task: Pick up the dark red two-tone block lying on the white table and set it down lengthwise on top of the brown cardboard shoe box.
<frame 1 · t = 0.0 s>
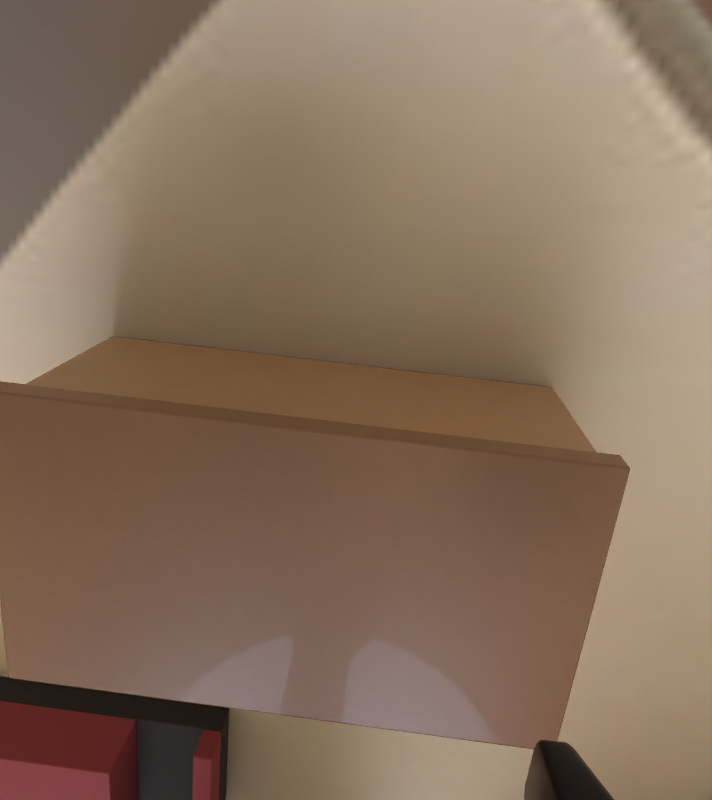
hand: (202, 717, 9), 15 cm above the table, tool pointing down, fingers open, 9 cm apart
dark red two-tone block: (95, 736, 29), on the table
shoebox: (319, 470, 24), on the table
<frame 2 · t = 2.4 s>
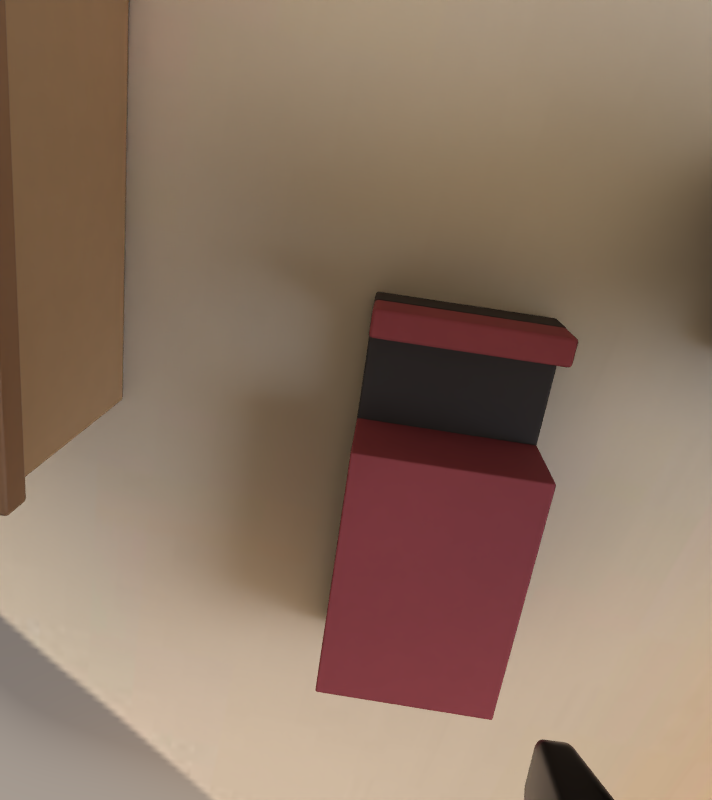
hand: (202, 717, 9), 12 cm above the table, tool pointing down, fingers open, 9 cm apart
dark red two-tone block: (430, 484, 21), on the table
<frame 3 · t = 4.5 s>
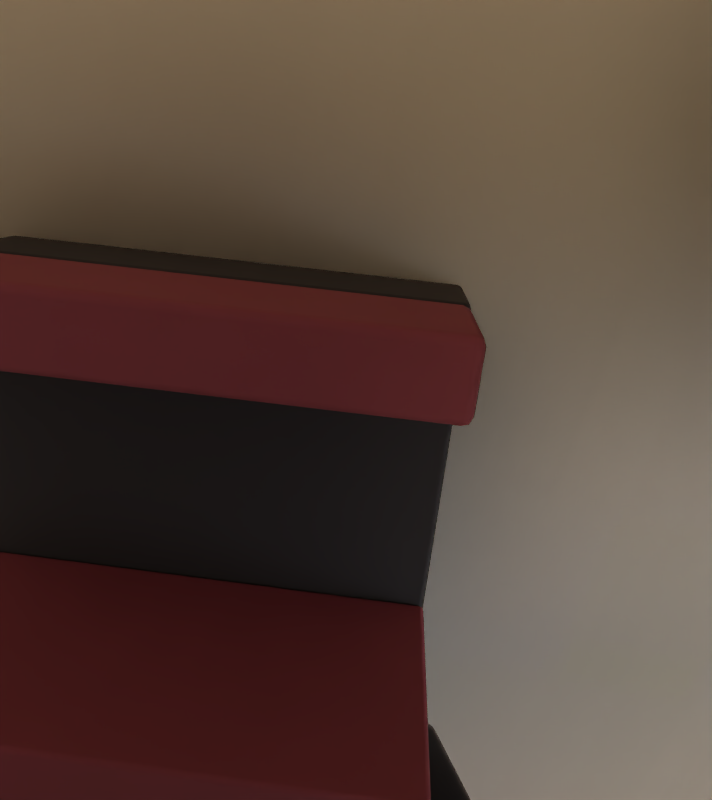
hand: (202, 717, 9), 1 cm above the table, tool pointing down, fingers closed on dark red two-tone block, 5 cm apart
dark red two-tone block: (220, 663, 10), on the table, touching gripper
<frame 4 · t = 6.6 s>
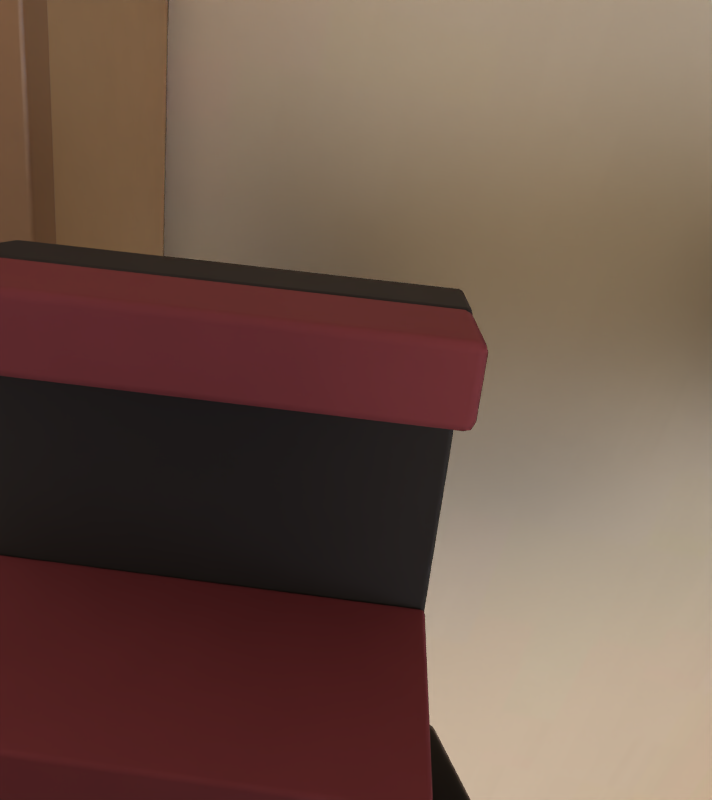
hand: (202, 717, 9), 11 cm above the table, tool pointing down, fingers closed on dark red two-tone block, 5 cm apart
dark red two-tone block: (222, 666, 10), point 10 cm above the table, touching gripper
shoebox: (14, 176, 17), on the table
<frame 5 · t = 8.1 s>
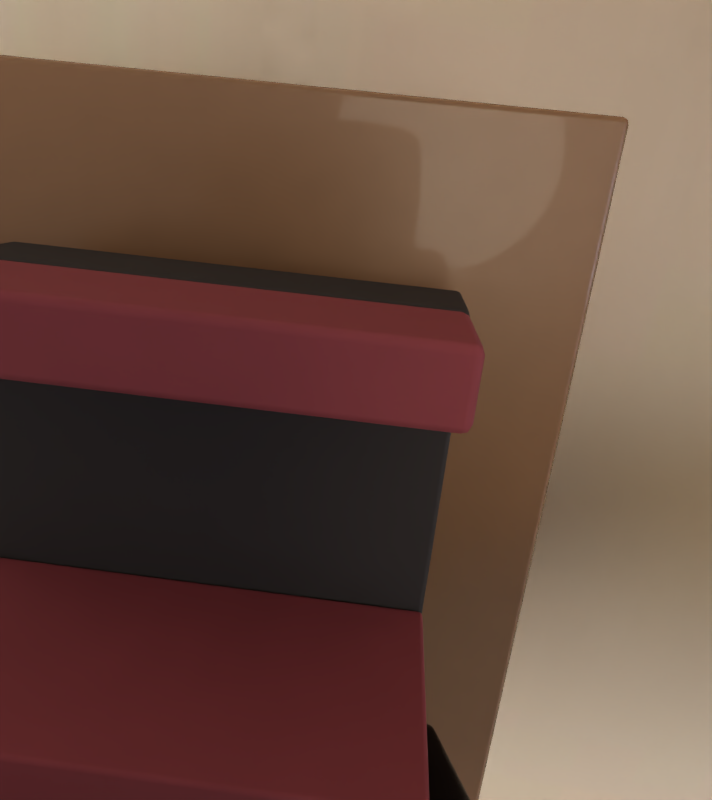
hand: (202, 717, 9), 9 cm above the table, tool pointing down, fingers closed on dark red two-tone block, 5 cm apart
dark red two-tone block: (220, 668, 10), point 8 cm above the table, touching gripper
shoebox: (299, 450, 17), on the table
when the fingers open (8 cm above the table, at t = 8.8 s): dark red two-tone block stays where it is, resting on shoebox.
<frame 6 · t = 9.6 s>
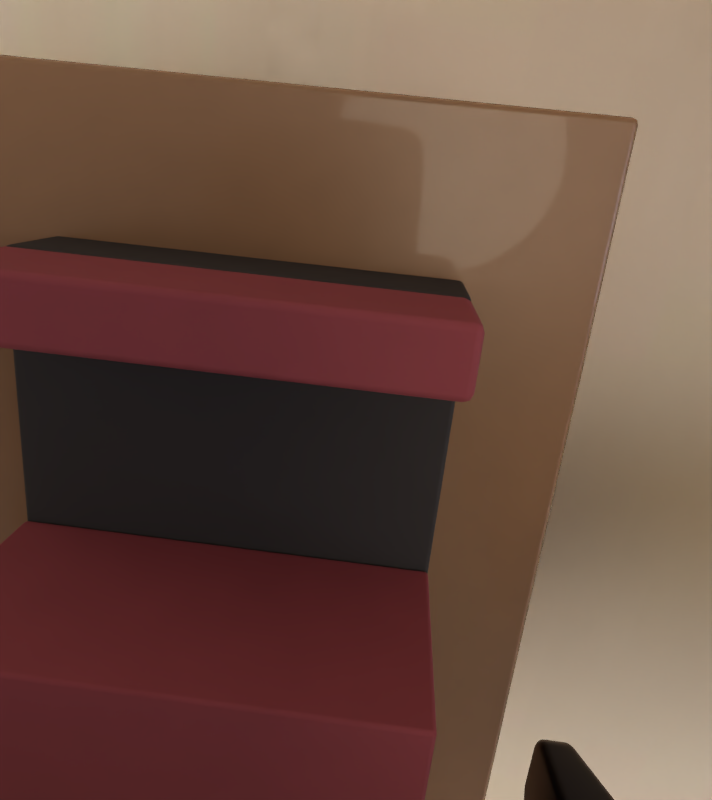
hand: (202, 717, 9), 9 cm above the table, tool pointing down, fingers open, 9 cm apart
dark red two-tone block: (240, 631, 10), point 7 cm above the table, touching shoebox
shoebox: (303, 451, 17), on the table
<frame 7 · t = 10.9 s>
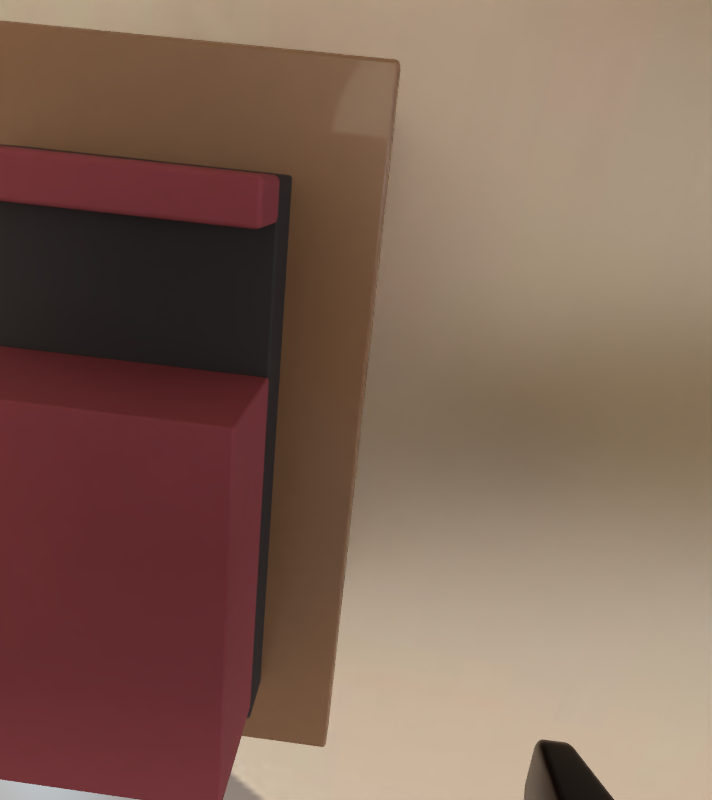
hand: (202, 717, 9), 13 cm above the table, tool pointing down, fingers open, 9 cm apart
dark red two-tone block: (153, 449, 14), point 7 cm above the table, touching shoebox
shoebox: (232, 359, 21), on the table
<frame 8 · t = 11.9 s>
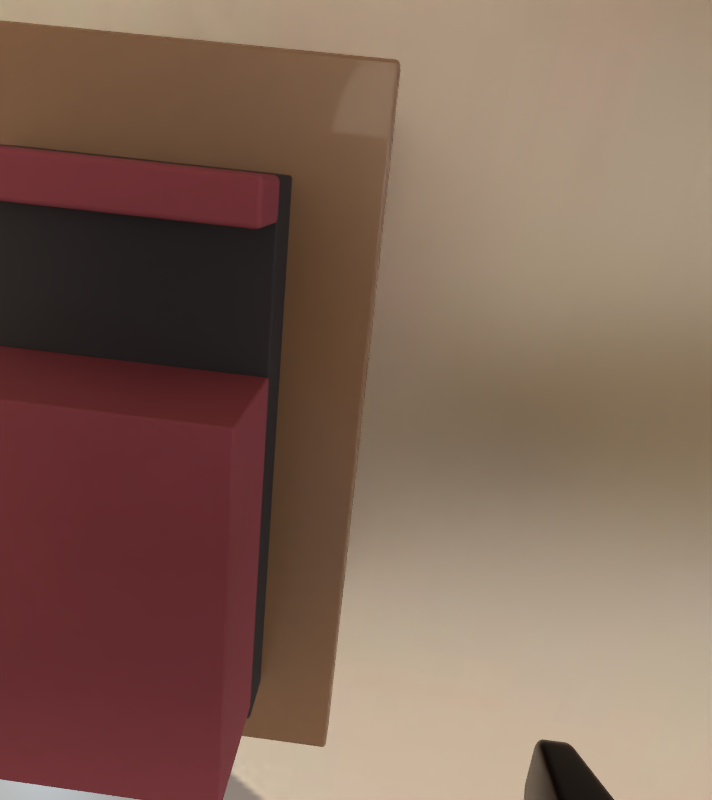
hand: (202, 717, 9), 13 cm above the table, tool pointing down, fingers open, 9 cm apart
dark red two-tone block: (153, 449, 14), point 7 cm above the table, touching shoebox
shoebox: (233, 359, 21), on the table
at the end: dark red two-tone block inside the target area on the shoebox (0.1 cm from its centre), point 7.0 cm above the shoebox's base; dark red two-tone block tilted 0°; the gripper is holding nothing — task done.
